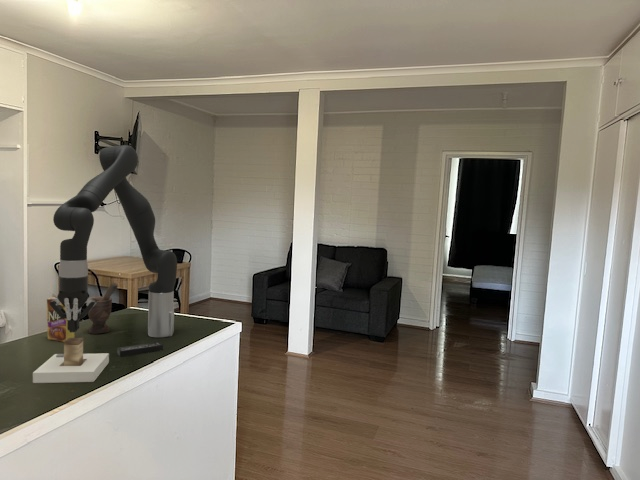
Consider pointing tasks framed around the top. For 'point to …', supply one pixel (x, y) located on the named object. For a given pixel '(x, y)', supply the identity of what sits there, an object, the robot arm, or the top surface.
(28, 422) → the top surface
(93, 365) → the socket plate
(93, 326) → the mortar and pestle
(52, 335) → the candy box
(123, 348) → the multiport hub
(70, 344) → the square peg
